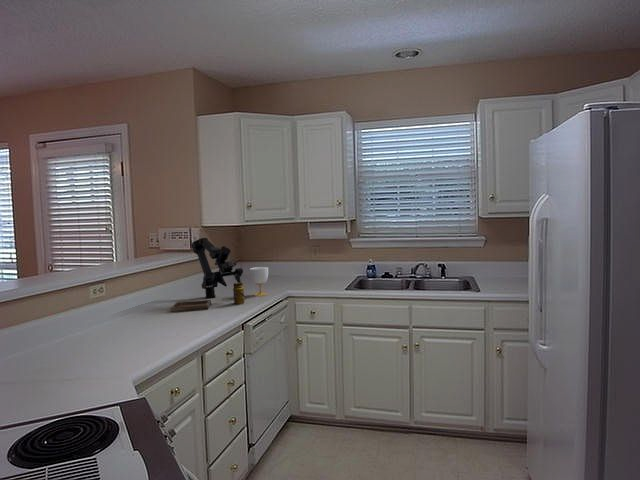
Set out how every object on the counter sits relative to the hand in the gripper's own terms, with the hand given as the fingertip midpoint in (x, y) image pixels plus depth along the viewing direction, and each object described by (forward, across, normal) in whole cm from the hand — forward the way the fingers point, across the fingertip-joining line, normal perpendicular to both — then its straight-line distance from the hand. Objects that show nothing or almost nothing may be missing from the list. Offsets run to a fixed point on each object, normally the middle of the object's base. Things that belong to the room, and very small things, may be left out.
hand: (233, 285), depth 274 cm
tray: (+1, -23, +14) cm, 27 cm away
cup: (+1, +24, +14) cm, 28 cm away
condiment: (+10, 0, +5) cm, 11 cm away
